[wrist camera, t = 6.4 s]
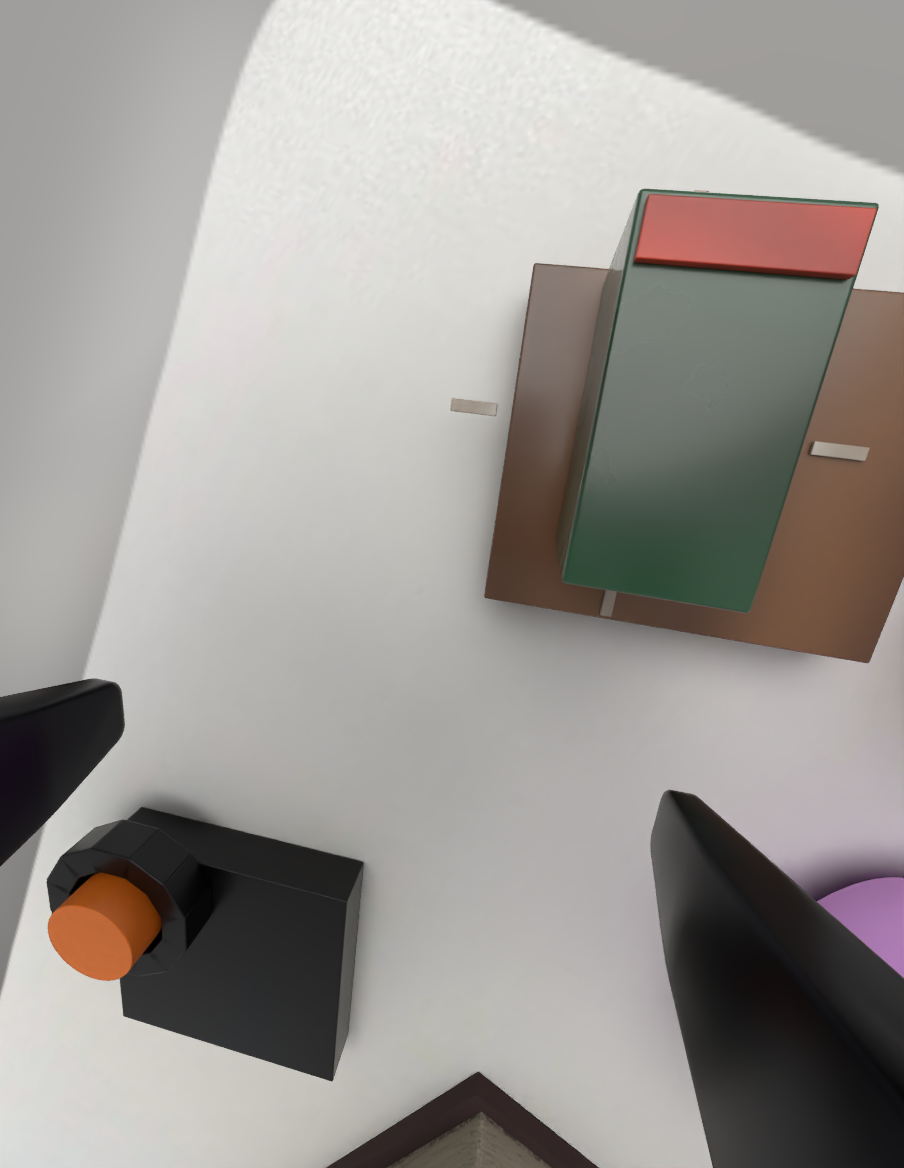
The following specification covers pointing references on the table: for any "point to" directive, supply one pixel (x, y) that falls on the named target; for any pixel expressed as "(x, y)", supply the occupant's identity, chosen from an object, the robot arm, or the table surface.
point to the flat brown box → (811, 510)
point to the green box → (704, 389)
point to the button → (104, 927)
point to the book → (467, 1136)
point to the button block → (233, 935)
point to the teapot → (873, 916)
